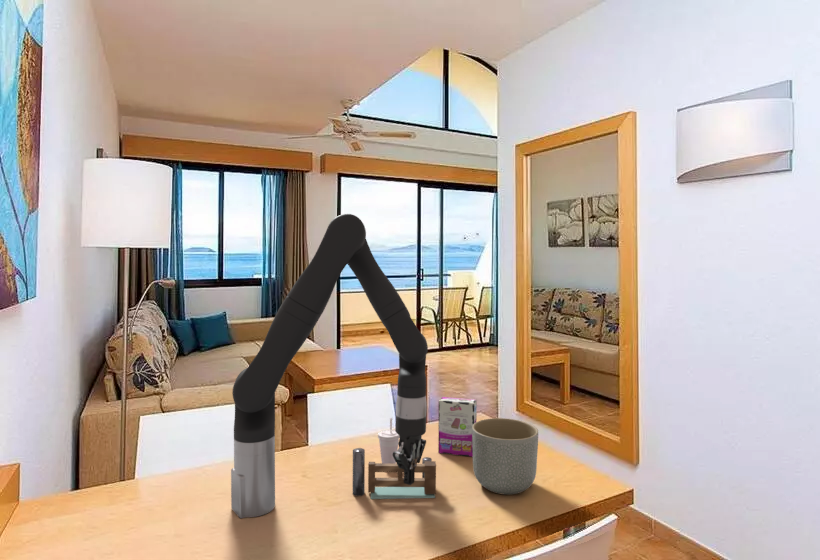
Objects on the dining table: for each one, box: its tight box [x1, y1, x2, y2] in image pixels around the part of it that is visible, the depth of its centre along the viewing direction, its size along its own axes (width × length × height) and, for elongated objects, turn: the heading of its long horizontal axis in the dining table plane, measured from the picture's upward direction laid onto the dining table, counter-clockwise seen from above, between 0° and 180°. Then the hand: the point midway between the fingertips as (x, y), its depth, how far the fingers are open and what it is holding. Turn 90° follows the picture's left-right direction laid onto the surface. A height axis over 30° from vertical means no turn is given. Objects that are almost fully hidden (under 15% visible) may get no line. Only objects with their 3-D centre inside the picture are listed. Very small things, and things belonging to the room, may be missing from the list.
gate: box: [367, 460, 437, 495], centre depth 126 cm, size 17×3×7 cm, turn 90°
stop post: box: [421, 456, 433, 478], centre depth 131 cm, size 2×2×7 cm
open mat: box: [370, 487, 436, 500], centre depth 127 cm, size 16×6×1 cm, turn 93°
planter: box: [472, 417, 539, 496], centre depth 131 cm, size 17×17×15 cm
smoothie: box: [377, 417, 400, 463], centre depth 142 cm, size 6×6×14 cm
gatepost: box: [352, 447, 366, 497], centre depth 126 cm, size 3×3×11 cm
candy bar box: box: [437, 396, 478, 458], centre depth 153 cm, size 11×5×16 cm, turn 73°
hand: (409, 483), depth 123 cm, fingers closed
